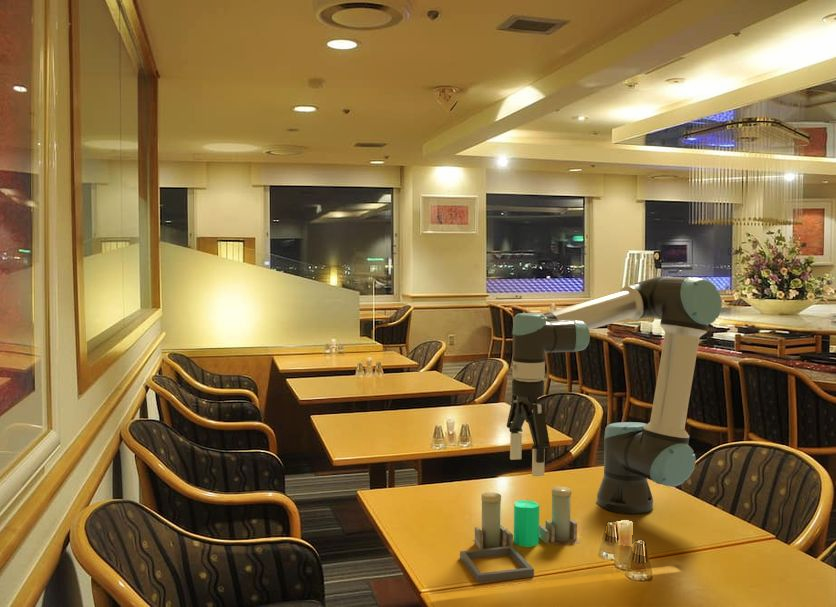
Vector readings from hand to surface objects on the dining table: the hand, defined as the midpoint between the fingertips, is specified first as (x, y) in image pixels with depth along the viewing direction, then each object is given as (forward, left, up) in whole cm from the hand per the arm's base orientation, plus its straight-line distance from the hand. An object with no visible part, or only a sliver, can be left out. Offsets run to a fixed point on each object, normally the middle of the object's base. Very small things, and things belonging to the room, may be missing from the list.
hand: (526, 467), depth 172 cm
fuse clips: (0, +2, -19) cm, 19 cm away
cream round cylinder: (-9, 0, -18) cm, 20 cm away
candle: (0, 0, -20) cm, 20 cm away
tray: (+12, +11, -19) cm, 25 cm away
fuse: (+9, 0, -18) cm, 20 cm away
